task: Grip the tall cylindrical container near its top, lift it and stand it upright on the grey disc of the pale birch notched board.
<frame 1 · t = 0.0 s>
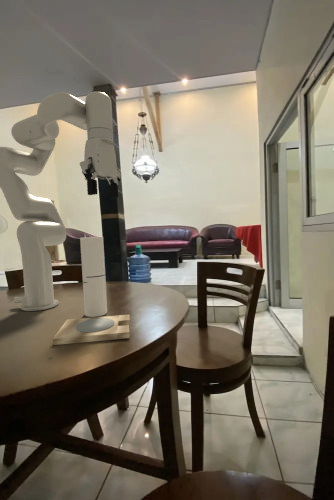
hand: (103, 196, 79), 37 cm above the table, tool pointing down, fingers open, 9 cm apart
notched board: (95, 330, 70), on the table
cylindrical container: (96, 313, 85), on the table
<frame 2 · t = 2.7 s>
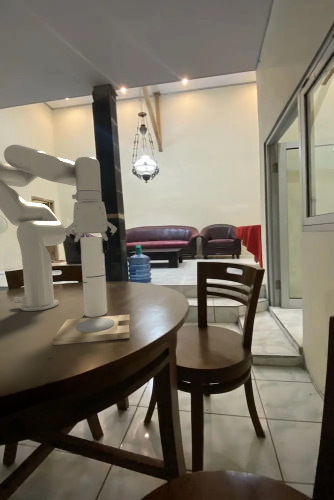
hand: (92, 253, 84), 20 cm above the table, tool pointing down, fingers closed on cylindrical container, 7 cm apart
cylindrical container: (96, 313, 85), on the table, touching gripper
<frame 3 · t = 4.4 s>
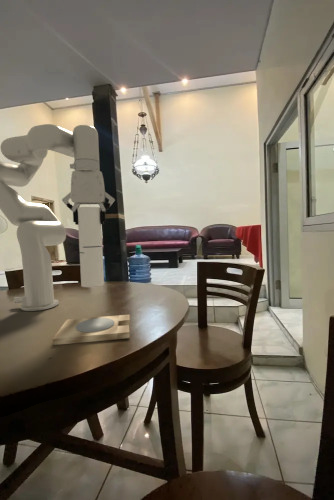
hand: (89, 223, 84), 29 cm above the table, tool pointing down, fingers closed on cylindrical container, 7 cm apart
cylindrical container: (92, 285, 85), point 9 cm above the table, touching gripper
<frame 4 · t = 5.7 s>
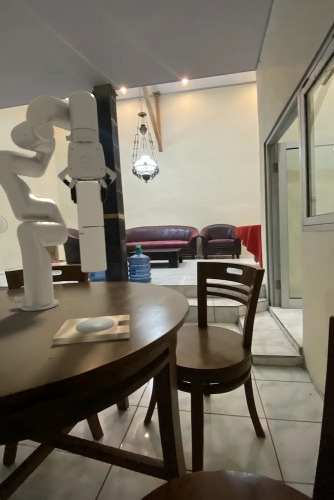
hand: (89, 202, 75), 35 cm above the table, tool pointing down, fingers closed on cylindrical container, 7 cm apart
cylindrical container: (94, 271, 76), point 15 cm above the table, touching gripper
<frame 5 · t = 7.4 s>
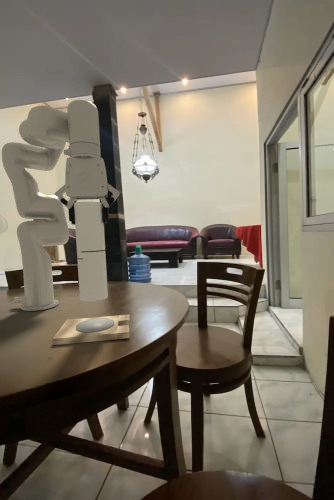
hand: (89, 223, 68), 29 cm above the table, tool pointing down, fingers closed on cylindrical container, 7 cm apart
cylindrical container: (94, 298, 69), point 9 cm above the table, touching gripper
when the fingers open (23 cm above the table, at t = 9.0 s): cylindrical container drops 1 cm, resting on notched board.
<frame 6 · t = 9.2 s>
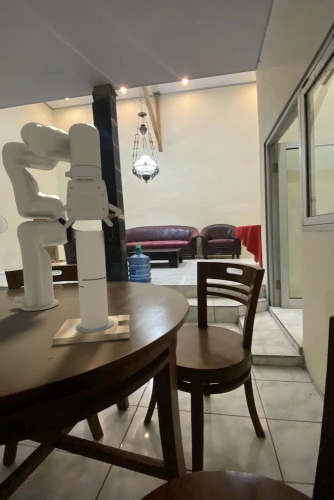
hand: (90, 242, 68), 24 cm above the table, tool pointing down, fingers open, 9 cm apart
cylindrical container: (94, 324, 70), point 2 cm above the table, touching notched board
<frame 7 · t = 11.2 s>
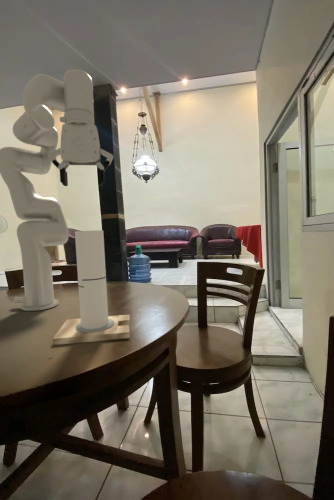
hand: (82, 185, 73), 40 cm above the table, tool pointing down, fingers open, 9 cm apart
nothing on the table moved.
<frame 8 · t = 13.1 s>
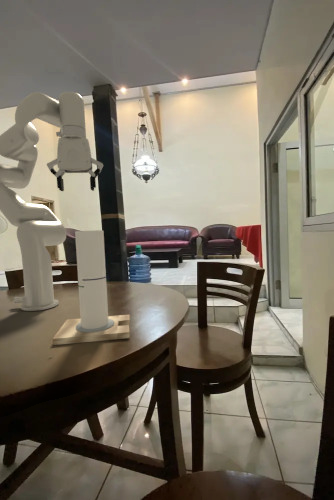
hand: (77, 190, 84), 40 cm above the table, tool pointing down, fingers open, 9 cm apart
nothing on the table moved.
at the end: cylindrical container inside the target area on the notched board (0.3 cm from its centre), point 1.6 cm above the notched board's base; cylindrical container tilted 0°; the gripper is holding nothing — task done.
